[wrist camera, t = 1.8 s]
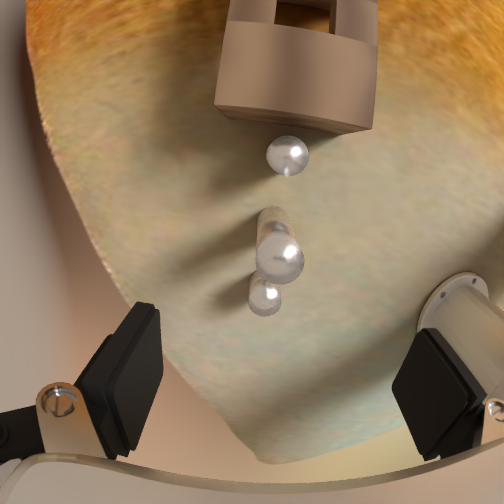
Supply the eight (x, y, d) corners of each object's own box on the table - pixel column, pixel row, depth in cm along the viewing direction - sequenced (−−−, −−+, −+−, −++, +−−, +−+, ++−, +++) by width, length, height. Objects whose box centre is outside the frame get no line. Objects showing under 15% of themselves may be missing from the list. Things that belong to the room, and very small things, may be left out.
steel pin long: (294, 220, 28) (314, 261, 18) (273, 242, 29) (280, 293, 19) (272, 200, 28) (279, 229, 17) (251, 222, 28) (245, 263, 18)
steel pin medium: (304, 155, 26) (317, 155, 20) (282, 177, 27) (288, 184, 21) (280, 133, 25) (287, 127, 19) (259, 155, 26) (258, 156, 20)
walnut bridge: (351, -10, 19) (374, -46, 12) (341, 134, 25) (371, 129, 18) (249, -27, 19) (246, -69, 11) (227, 118, 25) (213, 104, 17)
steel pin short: (284, 280, 30) (288, 301, 26) (264, 299, 31) (265, 321, 27) (263, 262, 30) (264, 281, 25) (244, 282, 30) (241, 302, 26)
